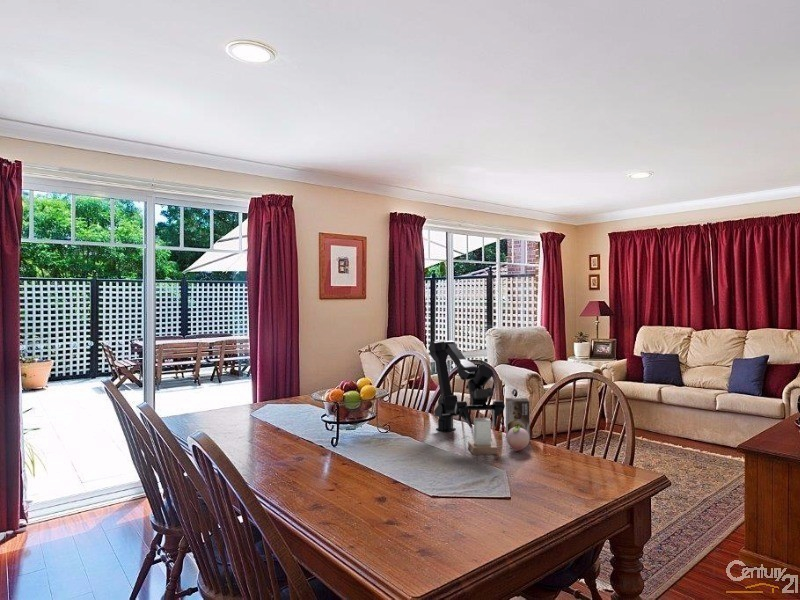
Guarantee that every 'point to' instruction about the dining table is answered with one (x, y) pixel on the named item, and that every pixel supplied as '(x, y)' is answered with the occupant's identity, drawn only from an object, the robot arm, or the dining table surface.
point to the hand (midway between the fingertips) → (483, 427)
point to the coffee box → (517, 414)
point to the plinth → (482, 448)
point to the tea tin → (482, 431)
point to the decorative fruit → (518, 438)
